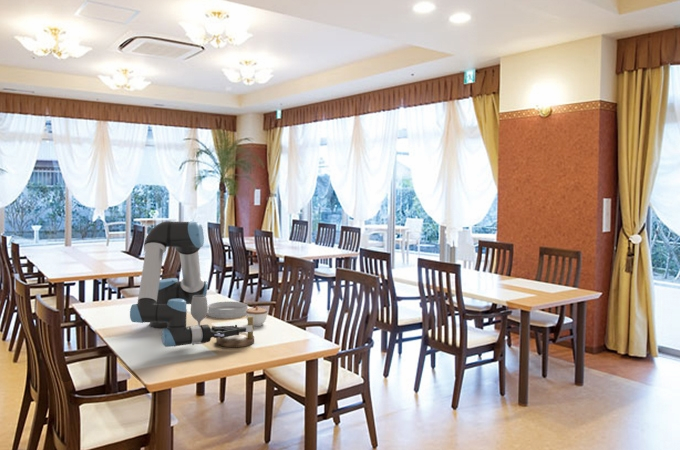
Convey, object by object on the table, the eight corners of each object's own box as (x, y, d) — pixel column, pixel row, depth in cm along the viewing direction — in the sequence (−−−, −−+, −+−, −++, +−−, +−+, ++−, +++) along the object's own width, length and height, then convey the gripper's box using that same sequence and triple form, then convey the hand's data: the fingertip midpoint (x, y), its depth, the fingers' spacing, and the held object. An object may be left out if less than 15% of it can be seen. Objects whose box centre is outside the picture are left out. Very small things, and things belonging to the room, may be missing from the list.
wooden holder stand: (219, 348, 231) (219, 321, 230) (213, 338, 246) (214, 312, 246) (257, 345, 237) (258, 318, 236) (249, 335, 253) (250, 310, 252)
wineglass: (192, 344, 237) (192, 298, 235) (188, 340, 243) (189, 295, 242) (209, 342, 240) (209, 297, 239) (205, 338, 247) (205, 294, 246)
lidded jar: (262, 327, 269) (263, 309, 269) (242, 326, 271) (243, 308, 271) (269, 323, 280) (270, 305, 279) (250, 321, 282) (250, 304, 281)
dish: (244, 309, 312) (244, 300, 312) (250, 317, 292) (251, 308, 291) (206, 310, 305) (206, 302, 305) (209, 319, 284) (209, 310, 284)
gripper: (195, 339, 232) (246, 333, 244) (204, 346, 221) (257, 339, 233) (195, 322, 232) (246, 317, 244) (204, 328, 221) (257, 323, 233)
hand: (251, 328), depth 239 cm, fingers closed
